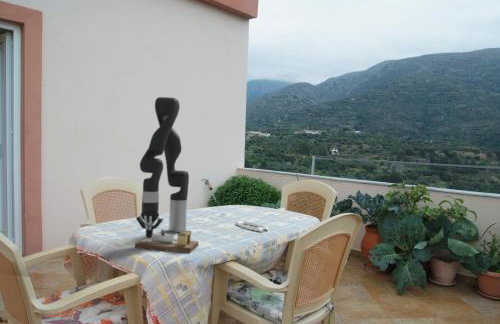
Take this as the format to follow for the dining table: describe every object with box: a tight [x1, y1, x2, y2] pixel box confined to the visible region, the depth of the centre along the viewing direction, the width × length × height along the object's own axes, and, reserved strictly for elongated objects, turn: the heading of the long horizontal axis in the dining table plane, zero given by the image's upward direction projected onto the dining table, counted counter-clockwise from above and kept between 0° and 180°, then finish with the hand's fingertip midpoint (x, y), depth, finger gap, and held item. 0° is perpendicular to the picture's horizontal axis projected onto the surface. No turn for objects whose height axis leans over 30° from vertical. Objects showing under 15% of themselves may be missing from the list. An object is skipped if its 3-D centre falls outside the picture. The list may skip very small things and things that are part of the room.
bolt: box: [151, 229, 176, 243], centre depth 162 cm, size 3×10×5 cm, turn 81°
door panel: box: [134, 236, 199, 254], centre depth 162 cm, size 12×26×2 cm, turn 81°
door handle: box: [234, 220, 269, 233], centre depth 209 cm, size 3×10×25 cm
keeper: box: [176, 230, 192, 246], centre depth 160 cm, size 7×4×5 cm, turn 171°
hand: (149, 237), depth 163 cm, fingers closed
